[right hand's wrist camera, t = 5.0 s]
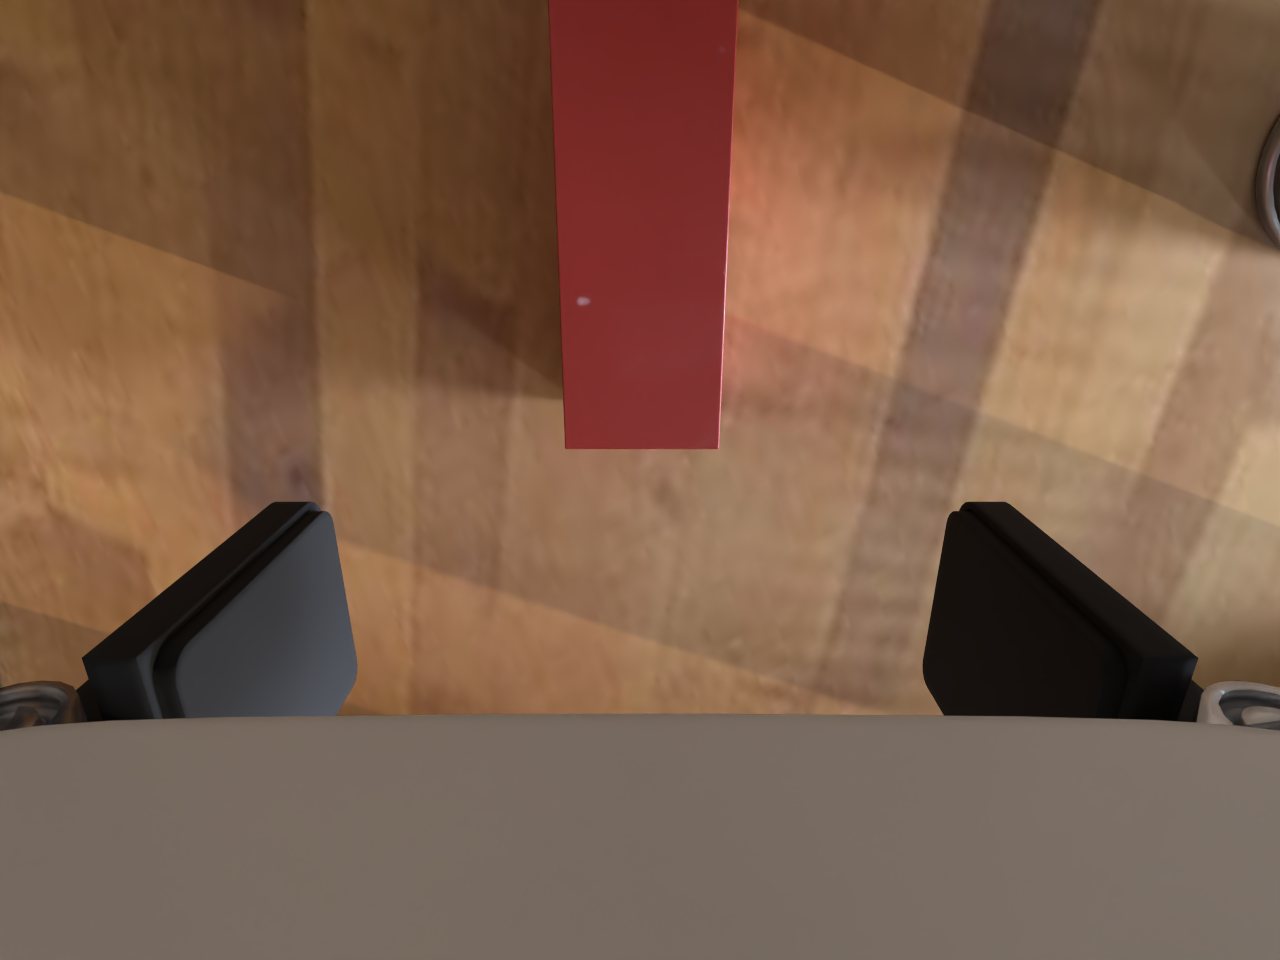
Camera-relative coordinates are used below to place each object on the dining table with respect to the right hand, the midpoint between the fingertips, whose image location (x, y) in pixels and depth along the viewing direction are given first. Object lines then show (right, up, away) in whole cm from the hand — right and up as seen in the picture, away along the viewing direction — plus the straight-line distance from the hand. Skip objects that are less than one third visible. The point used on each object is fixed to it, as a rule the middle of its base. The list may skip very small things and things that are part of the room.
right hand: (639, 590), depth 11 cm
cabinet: (0, +15, +23) cm, 28 cm away
